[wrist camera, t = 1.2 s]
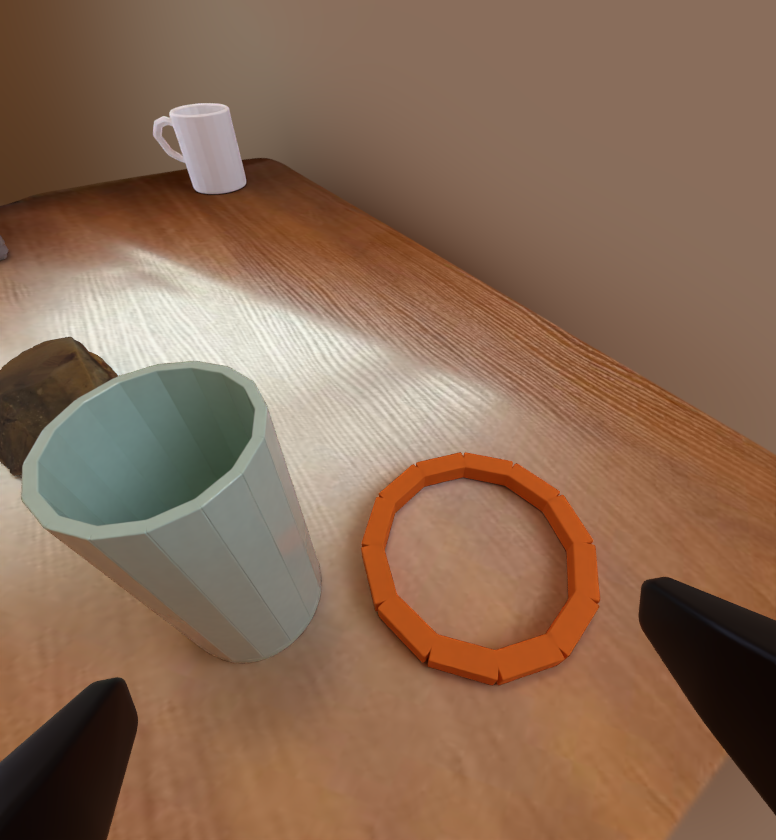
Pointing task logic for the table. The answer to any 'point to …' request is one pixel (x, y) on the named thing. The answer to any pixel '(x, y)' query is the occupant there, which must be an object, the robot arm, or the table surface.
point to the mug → (205, 146)
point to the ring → (458, 653)
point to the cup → (182, 504)
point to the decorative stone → (43, 392)
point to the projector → (3, 249)
